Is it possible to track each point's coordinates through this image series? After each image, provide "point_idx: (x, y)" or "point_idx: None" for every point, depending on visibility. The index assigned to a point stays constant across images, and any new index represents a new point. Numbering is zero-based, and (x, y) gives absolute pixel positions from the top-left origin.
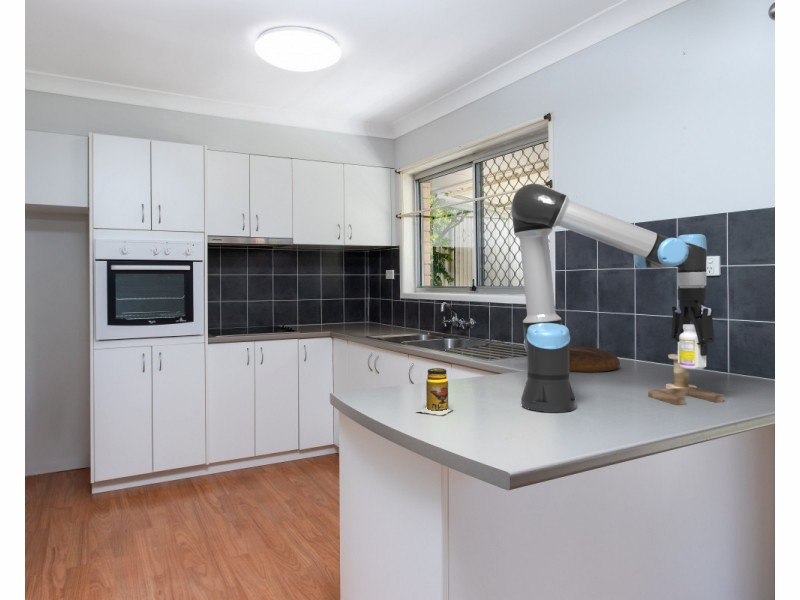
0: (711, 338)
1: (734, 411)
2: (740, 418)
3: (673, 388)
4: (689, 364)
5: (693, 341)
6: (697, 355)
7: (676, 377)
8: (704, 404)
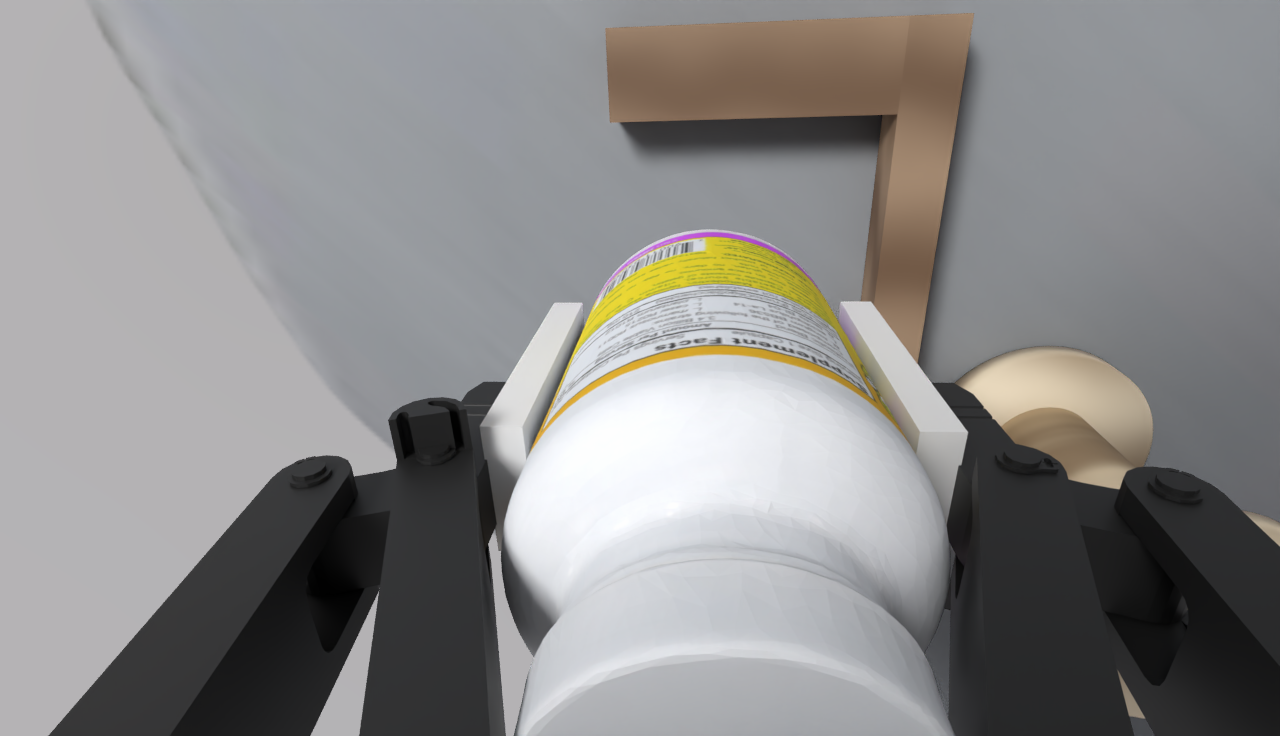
0: (308, 598)
1: (392, 285)
2: (225, 183)
3: (925, 278)
4: (628, 264)
5: (542, 426)
6: (539, 354)
7: (1076, 445)
8: (590, 252)
